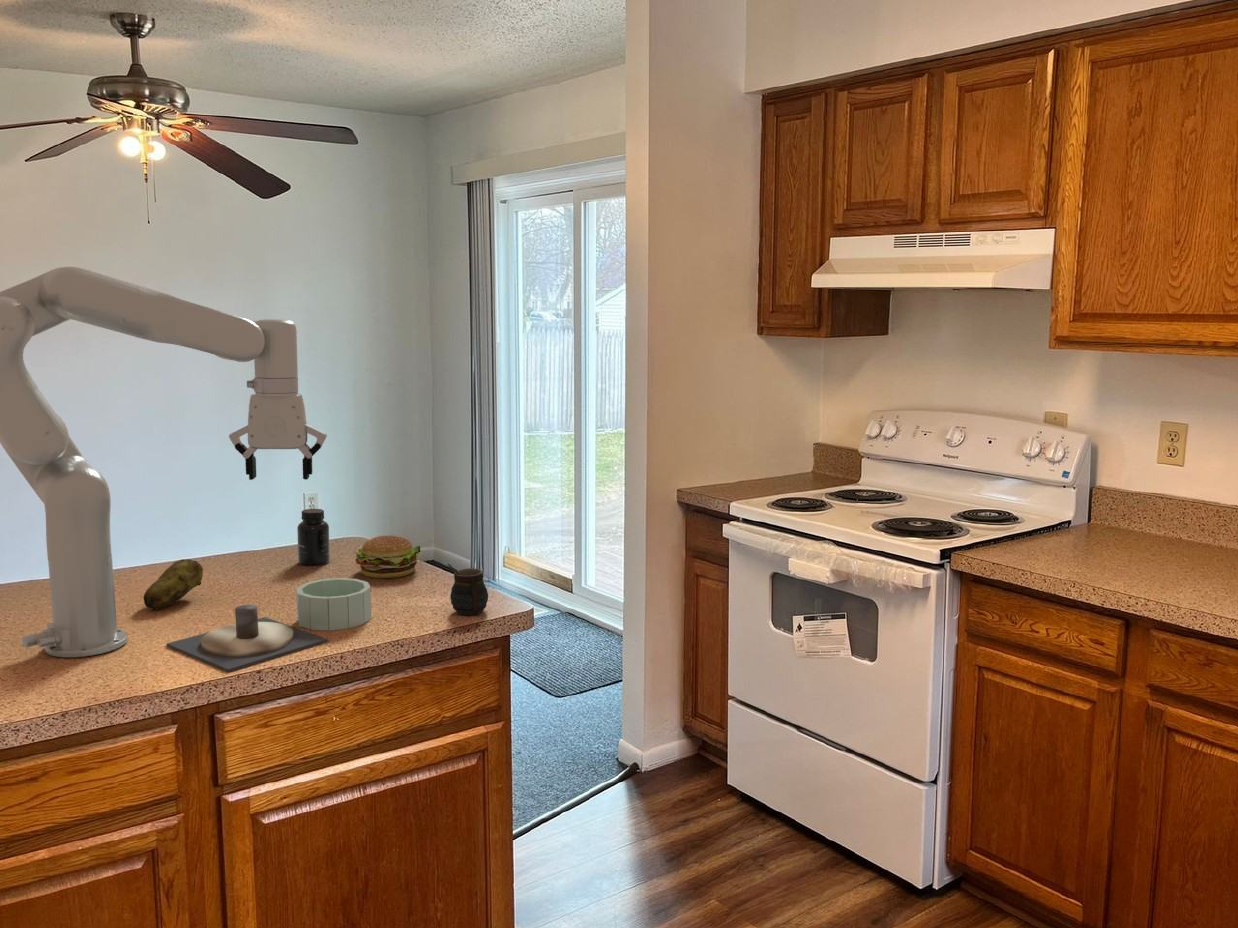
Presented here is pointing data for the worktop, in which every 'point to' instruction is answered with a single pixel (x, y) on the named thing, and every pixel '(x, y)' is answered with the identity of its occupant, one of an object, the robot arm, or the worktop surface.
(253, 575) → the worktop surface
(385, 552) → the food
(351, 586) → the bowl
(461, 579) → the mate gourd
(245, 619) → the lid
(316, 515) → the supplement bottle
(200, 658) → the mat
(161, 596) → the potato
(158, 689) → the worktop surface
